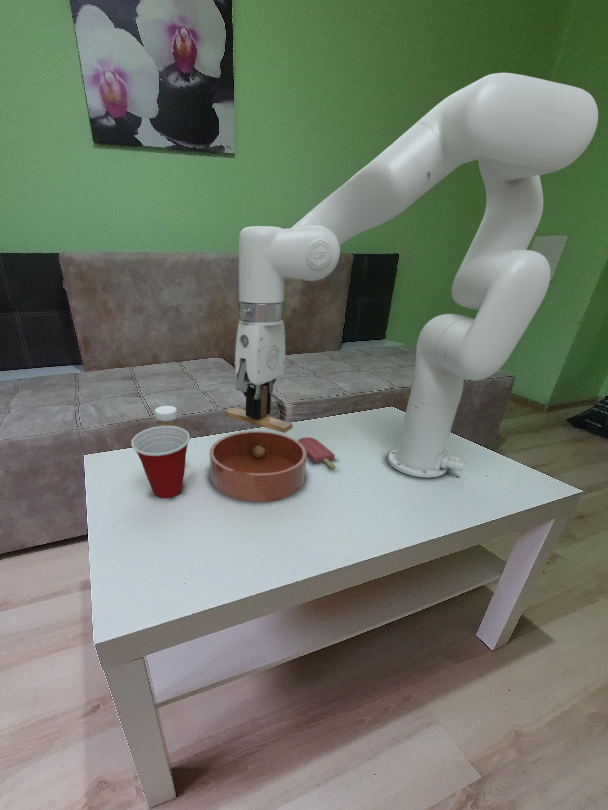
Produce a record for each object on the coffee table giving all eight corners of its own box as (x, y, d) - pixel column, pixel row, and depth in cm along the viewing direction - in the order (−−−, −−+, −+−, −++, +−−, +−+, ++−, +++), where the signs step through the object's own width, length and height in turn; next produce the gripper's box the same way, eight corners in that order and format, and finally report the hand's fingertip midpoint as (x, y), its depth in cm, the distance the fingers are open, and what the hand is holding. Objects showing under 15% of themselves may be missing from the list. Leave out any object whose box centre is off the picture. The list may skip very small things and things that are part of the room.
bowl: (320, 471, 85) (323, 446, 82) (270, 514, 71) (271, 487, 68) (248, 446, 95) (248, 424, 92) (191, 480, 81) (189, 455, 78)
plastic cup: (128, 500, 75) (117, 444, 69) (158, 473, 84) (151, 422, 77) (177, 511, 72) (171, 454, 66) (203, 482, 81) (199, 430, 74)
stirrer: (292, 428, 73) (295, 392, 70) (284, 433, 71) (286, 396, 68) (234, 411, 80) (234, 378, 77) (225, 415, 78) (224, 381, 75)
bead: (267, 457, 89) (267, 445, 88) (260, 461, 87) (260, 450, 86) (257, 453, 91) (257, 441, 89) (249, 458, 89) (249, 446, 87)
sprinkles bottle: (157, 465, 87) (150, 408, 80) (174, 458, 90) (168, 403, 83) (168, 472, 84) (162, 414, 77) (186, 465, 87) (181, 409, 80)
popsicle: (323, 466, 84) (294, 438, 96) (322, 472, 84) (293, 444, 96) (345, 462, 85) (313, 435, 97) (344, 469, 86) (312, 441, 98)
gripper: (250, 321, 58) (249, 433, 68) (303, 310, 69) (295, 407, 79) (213, 316, 62) (216, 423, 71) (268, 306, 73) (265, 399, 83)
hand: (258, 414), depth 75 cm, fingers closed on stirrer, 2 cm apart
